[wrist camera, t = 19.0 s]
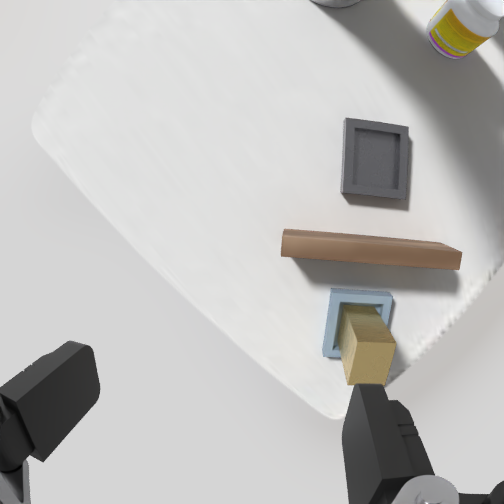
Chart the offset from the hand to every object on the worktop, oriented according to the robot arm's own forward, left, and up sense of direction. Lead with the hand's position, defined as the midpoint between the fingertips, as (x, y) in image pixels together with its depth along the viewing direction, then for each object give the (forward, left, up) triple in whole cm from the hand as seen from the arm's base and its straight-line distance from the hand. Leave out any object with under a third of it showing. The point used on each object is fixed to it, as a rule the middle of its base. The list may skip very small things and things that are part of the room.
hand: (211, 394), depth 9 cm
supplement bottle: (-29, +22, -30) cm, 47 cm away
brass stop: (+10, +11, -30) cm, 33 cm away
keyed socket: (+10, +11, -30) cm, 34 cm away
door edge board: (0, +11, -30) cm, 32 cm away
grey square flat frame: (-10, +11, -30) cm, 34 cm away
